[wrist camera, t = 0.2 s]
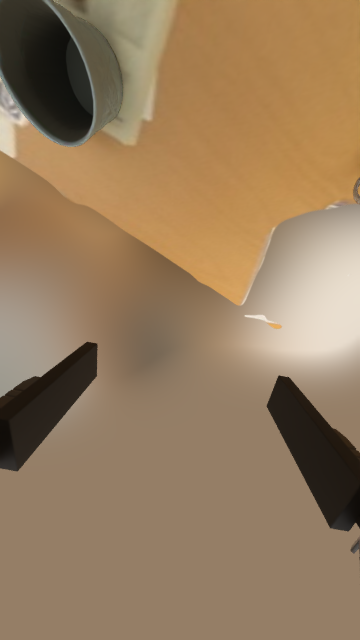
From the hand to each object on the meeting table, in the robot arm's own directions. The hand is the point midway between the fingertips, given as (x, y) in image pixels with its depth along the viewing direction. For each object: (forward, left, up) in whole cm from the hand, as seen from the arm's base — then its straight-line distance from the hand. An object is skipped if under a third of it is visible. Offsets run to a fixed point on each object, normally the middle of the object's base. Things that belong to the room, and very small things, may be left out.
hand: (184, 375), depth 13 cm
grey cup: (-18, -12, -36) cm, 42 cm away
